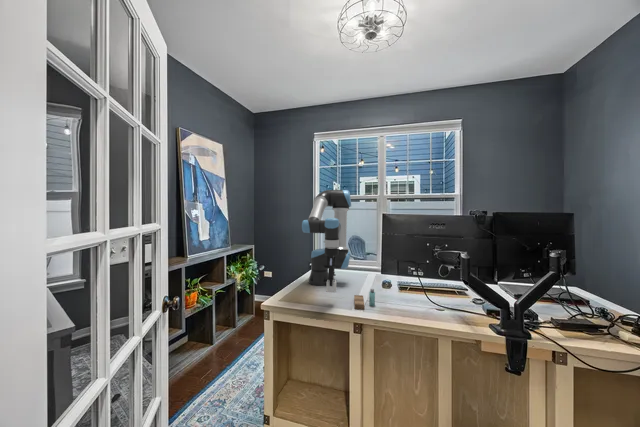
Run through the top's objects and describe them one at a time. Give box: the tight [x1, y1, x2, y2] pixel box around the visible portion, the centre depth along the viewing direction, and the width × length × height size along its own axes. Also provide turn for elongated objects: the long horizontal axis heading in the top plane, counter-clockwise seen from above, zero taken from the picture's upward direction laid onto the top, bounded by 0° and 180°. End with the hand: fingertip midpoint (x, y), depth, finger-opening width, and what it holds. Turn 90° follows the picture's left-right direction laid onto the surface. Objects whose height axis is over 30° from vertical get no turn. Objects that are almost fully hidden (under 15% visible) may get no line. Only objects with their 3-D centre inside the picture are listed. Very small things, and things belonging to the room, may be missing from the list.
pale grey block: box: [325, 278, 337, 293], centre depth 145 cm, size 5×5×6 cm
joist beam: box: [353, 294, 365, 310], centre depth 146 cm, size 14×5×2 cm, turn 174°
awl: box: [368, 288, 376, 307], centre depth 145 cm, size 3×3×8 cm
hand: (331, 289), depth 145 cm, fingers closed on pale grey block, 5 cm apart
